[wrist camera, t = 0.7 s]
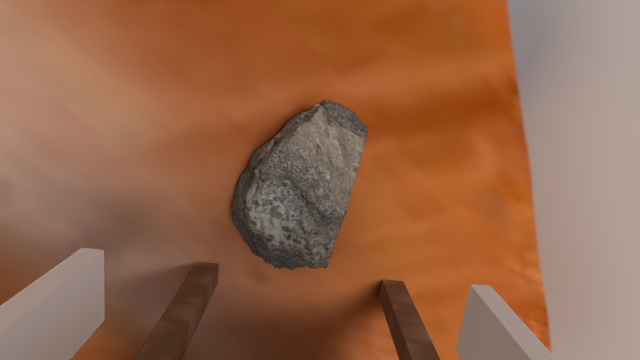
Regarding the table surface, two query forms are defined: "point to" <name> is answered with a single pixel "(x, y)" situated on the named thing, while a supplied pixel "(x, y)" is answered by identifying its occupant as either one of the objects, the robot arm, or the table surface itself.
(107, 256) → the table surface
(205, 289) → the stand
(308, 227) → the rock
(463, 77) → the table surface
